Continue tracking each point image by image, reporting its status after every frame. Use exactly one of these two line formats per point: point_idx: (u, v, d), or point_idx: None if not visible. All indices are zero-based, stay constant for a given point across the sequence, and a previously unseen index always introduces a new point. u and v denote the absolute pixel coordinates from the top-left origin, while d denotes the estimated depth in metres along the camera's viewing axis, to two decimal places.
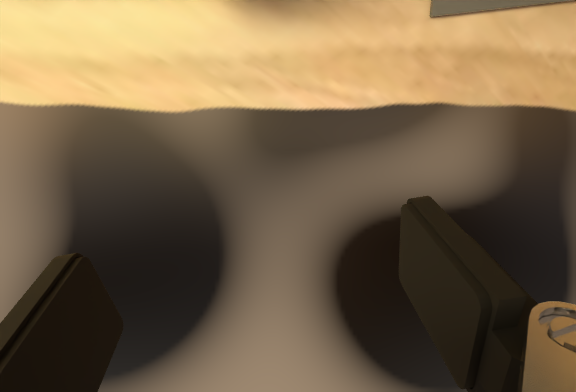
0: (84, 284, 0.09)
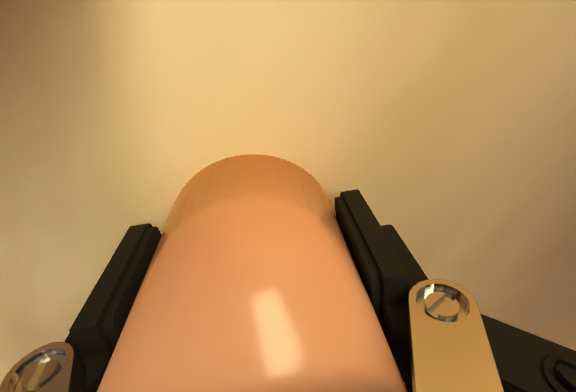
0: None
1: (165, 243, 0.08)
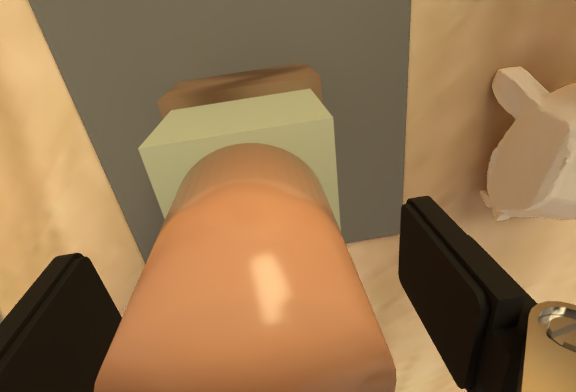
0: (85, 284, 0.09)
1: (171, 218, 0.08)
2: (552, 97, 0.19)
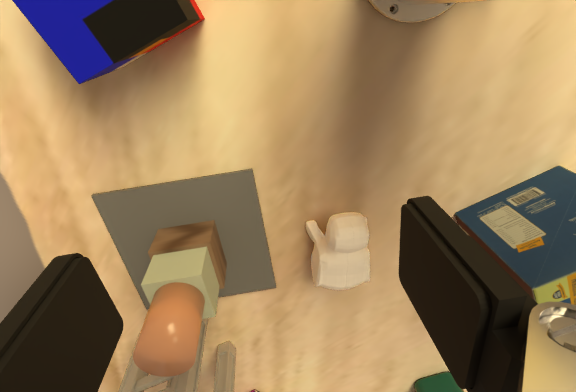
0: (84, 284, 0.09)
1: (149, 313, 0.33)
2: (321, 239, 0.44)
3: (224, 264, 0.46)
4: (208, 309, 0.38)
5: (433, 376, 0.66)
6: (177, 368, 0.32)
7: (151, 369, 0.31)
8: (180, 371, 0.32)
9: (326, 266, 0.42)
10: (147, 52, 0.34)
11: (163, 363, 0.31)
